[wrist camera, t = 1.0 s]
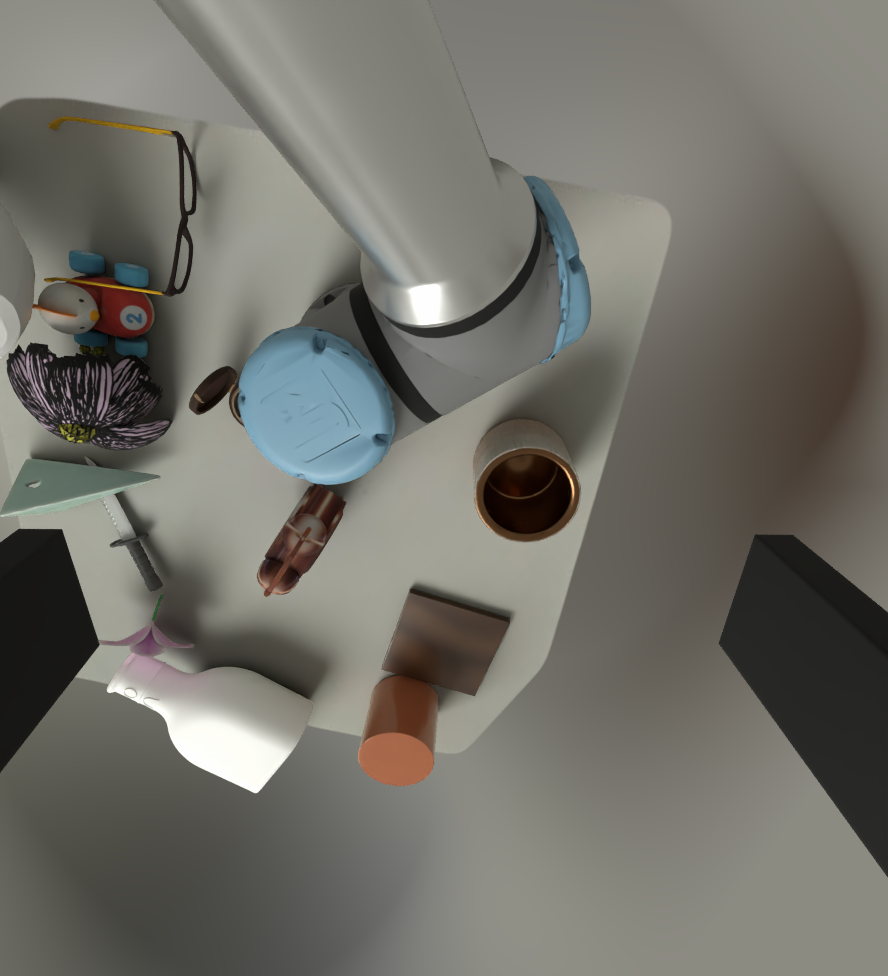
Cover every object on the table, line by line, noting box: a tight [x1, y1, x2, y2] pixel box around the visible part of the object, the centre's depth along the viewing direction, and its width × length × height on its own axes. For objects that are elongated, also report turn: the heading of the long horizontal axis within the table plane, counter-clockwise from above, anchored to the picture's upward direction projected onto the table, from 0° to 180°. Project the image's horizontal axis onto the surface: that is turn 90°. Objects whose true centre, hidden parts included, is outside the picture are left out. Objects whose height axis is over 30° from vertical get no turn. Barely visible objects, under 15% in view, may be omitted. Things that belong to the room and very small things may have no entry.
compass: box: [189, 366, 245, 427], centre depth 57 cm, size 8×8×7 cm
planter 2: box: [0, 459, 161, 517], centre depth 65 cm, size 8×6×18 cm
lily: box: [98, 594, 195, 656], centre depth 70 cm, size 12×12×10 cm
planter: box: [473, 419, 581, 542], centre depth 57 cm, size 11×11×10 cm
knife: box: [85, 456, 163, 592], centre depth 67 cm, size 19×2×5 cm
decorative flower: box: [7, 342, 172, 450], centre depth 56 cm, size 15×12×15 cm
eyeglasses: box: [44, 117, 196, 296], centre depth 50 cm, size 14×14×4 cm
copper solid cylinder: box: [358, 675, 439, 786], centre depth 74 cm, size 10×10×10 cm
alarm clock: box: [257, 484, 346, 597], centre depth 59 cm, size 11×5×15 cm, turn 146°
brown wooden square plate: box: [382, 589, 510, 696], centre depth 73 cm, size 14×14×1 cm
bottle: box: [107, 652, 313, 793], centre depth 75 cm, size 17×25×8 cm
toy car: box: [32, 251, 155, 358], centre depth 52 cm, size 9×9×10 cm
